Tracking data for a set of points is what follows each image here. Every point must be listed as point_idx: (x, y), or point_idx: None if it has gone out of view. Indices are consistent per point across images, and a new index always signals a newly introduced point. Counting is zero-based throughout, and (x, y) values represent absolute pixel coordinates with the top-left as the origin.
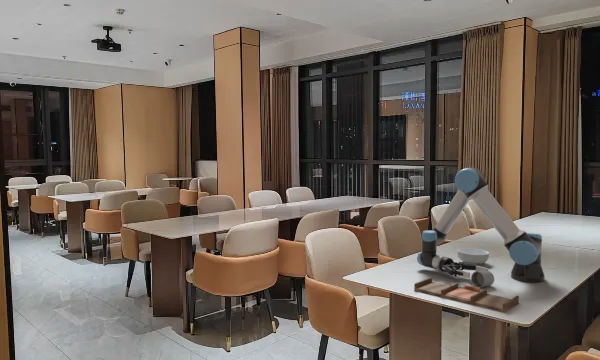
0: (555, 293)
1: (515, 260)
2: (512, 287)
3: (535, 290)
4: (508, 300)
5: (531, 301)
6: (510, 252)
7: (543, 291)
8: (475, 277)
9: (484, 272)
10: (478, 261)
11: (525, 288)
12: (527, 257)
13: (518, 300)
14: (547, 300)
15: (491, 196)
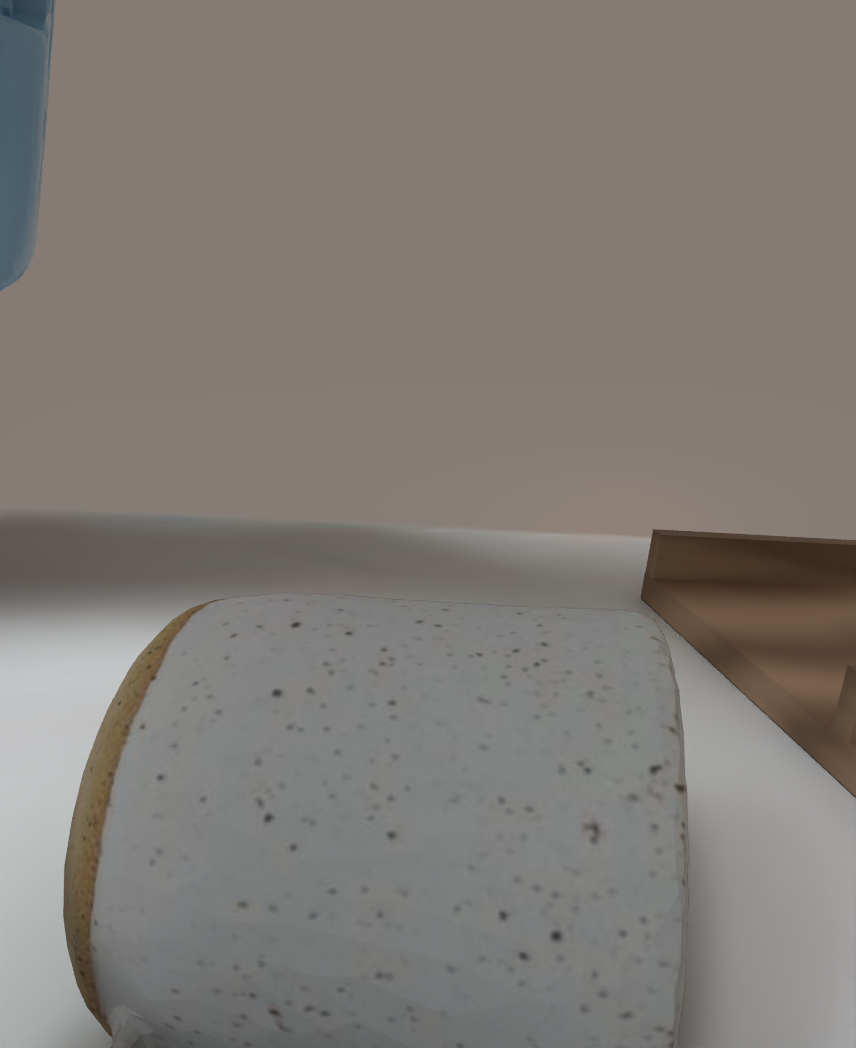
0: (74, 525)
1: (32, 220)
2: (72, 702)
3: (64, 585)
4: (740, 600)
5: (483, 570)
6: (44, 38)
7: (60, 558)
8: (442, 1030)
9: (491, 605)
10: None
11: (28, 630)
12: (42, 155)
13: (651, 569)
14: (346, 536)
15: None
